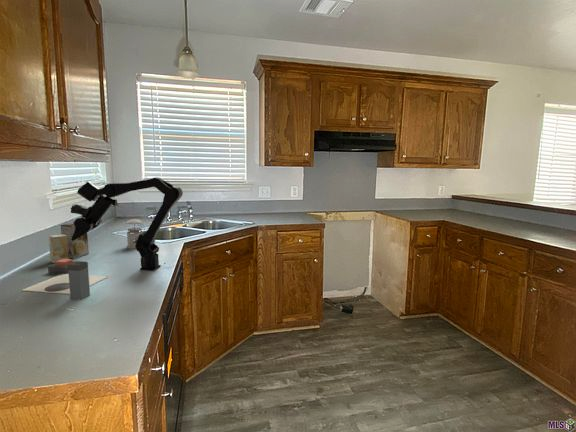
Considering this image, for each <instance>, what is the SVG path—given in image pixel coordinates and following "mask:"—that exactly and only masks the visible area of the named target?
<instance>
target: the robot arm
mask: <svg viewBox="0 0 576 432" xmlns="http://www.w3.org/2000/svg"><path fill="white" fill-rule="evenodd" d="M149 188H155V189H157V190H158V191H159V192H161V193H162V195H163V197H162V198H163V199H162V204H161V206H160V207H159V209H158V210H157V213H156V214H155V216H154V218H153V220H152V222H151V223H150V225H149V227H148V228H147V230H146V231H142V233H141V234H140V235H139V237H138V239H137V241H135V240H134V241H135V242H137V243H136V245H135V247H136V248H135V249H136V251H137V252H138V253H139V255H140V268H139V270H143V271H155V270H156V269H159V268H160V267H161V264H160V262H159V251H160V247H159V246H158V245H157V244H156V243H155V242H156V238H157V234H158V232H159V230H160V229H161V227H162V225H164V224H163V223H164V222H165V220H166V219H167V216H168V215H169V213H170V212H171V209H172V208H173V207H174V206H175V205H176V204H177V202H179V200H180V199H181V198H182V197H183V194H184V193H183V190H182V188H181V187H179V186H175V185H173V184H171V183H169V182H167V181H165V180H164V179H162V178H161V177H157V176H155V177H152V178H147V179H142V180H137V181H132V182H131V181H130V182H113V183H107V184H105V185H104V186H103V187H98V186H96V185H95V184H94V183H93V182H91V181H86V183H84V184H82V185H81V186H80V187H79V188H78V190H77V191H76V193H77V194H78V195H79V196H81V197H82V198H83V199H85V200H87V201H88V202H90V203H91V202H94V203H93V204H92V205H91V206H88V207H87V206H83V205H81V204H72V206H71V207H70V214H76V215H81V217H78V218H76V219H75V220H74V221H73V222H72V223H74V225H75V228H76V229H75V231H74V234H73V236H72V238H71V240H73V241H74V240H76V239H77V238H79V237H81V236H83V235H84V234H86V233H87V234H88V233H89V232H91V231H92V230H94V229H96V228H97V227H99V226H100V225H101V224H102V222H103V220H102V218H103V216H105V215H106V213H107V211H109V208H111V207H112V206H114V207H117V206H119V204H118V203H119V202H118V199H117V198H116V197H119V196H122V195H124V194H128V193H130V192H133V191H139V190H144V189H149ZM113 198H116V199H113Z"/></svg>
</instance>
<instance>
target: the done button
mask: <svg viewBox="0 0 576 432" xmlns="http://www.w3.org/2000/svg"><path fill="white" fill-rule="evenodd" d="M73 261H74V260H73V258H69V259H61V260H59V261H56V262H55V263H56V265H58V266H66V265H68V264H71V263H73ZM55 263H54V264H55Z"/></svg>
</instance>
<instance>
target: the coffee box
mask: <svg viewBox="0 0 576 432" xmlns="http://www.w3.org/2000/svg"><path fill="white" fill-rule="evenodd" d="M75 229H76V228H75V225H74V223H73V222H70V223H65V224H60V231H61V232H60V233H61V234H60V235H62V234H65V235H67V240H68V258H69V259H76V258H79V257H82V256H86V255H88V254H90V251H89V250H90V249H89V239H88V237H89V236H88V233H86V234H84V235H83V236H81V237H79V238H77V239H76V240H74V241H73V240H71V238H72V236H73V234H74V231H75Z"/></svg>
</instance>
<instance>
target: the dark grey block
mask: <svg viewBox="0 0 576 432" xmlns="http://www.w3.org/2000/svg"><path fill="white" fill-rule="evenodd" d="M68 274H69V286H70V294H69V297H70V300H78V299H80V301H82V300H83V298H84V299H86V298H87V296H88V297H89V295H90V296H91V292H90V291H91V290H90V286H89V276H90V274H89V262H88V261H79V260H76V262H73V263H71V264H68ZM85 297H86V298H85Z"/></svg>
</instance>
